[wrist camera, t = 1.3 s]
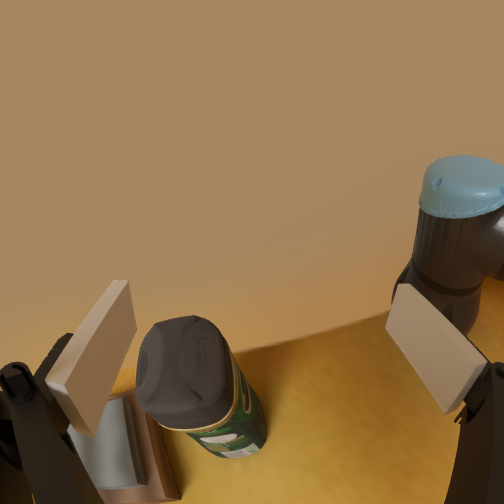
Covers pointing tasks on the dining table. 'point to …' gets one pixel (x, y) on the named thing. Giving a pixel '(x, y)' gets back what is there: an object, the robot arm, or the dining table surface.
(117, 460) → the tower stand
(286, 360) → the dining table surface
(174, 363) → the coffee jar
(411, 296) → the robot arm
